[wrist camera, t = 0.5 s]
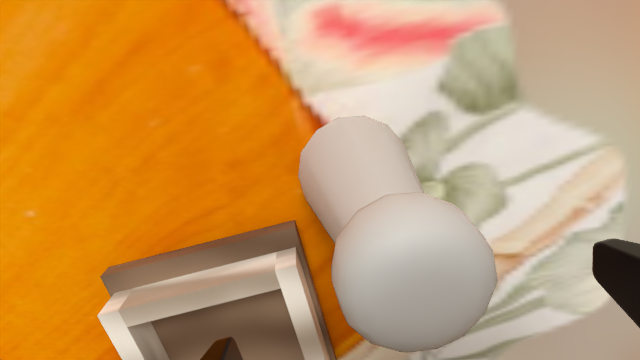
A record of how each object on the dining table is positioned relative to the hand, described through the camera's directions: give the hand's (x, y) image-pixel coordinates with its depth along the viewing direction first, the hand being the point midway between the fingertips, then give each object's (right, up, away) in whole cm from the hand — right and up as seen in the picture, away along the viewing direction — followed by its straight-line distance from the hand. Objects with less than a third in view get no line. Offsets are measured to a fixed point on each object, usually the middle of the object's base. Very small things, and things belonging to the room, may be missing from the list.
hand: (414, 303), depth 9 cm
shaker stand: (-8, -7, +16) cm, 19 cm away
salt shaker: (-1, +4, +12) cm, 13 cm away
